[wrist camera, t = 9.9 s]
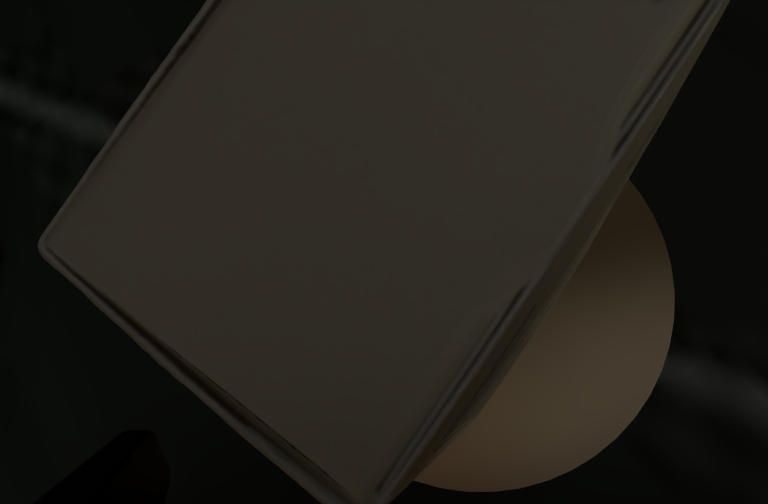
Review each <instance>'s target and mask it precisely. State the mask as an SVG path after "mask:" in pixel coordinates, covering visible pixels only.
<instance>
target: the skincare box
mask: <svg viewBox="0 0 768 504" xmlns="http://www.w3.org/2000/svg"><path fill="white" fill-rule="evenodd" d="M729 1H730V0H207V1H206V2H205V4H204V5H203V7H202V8H201V9H200V11H199V12H198V14H197V15H196V17H195V18H194V19H193V21H192V22H191V24H190V25H189V26H188V28H187V29H186V30H185V32H184V33H183V35H182V36H181V37H180V39H179V40H178V42H177V43H176V44H175V46H174V47H173V48H172V50H171V51H170V53H169V54H168V55H167V57H166V58H165V60H164V61H163V62H162V63H161V65H160V66H159V68H158V69H157V71H156V72H155V73H154V74H153V76H152V77H151V79H150V80H149V82H148V84H147V85H146V87H145V88H144V90H143V91H142V92H141V93H140V95H139V96H138V97H137V99H136V100H135V101H134V103H133V104H132V105H131V107H130V108H129V110H128V111H127V112H126V114H125V115H124V117H123V118H122V120H121V121H120V123H119V124H118V126H117V127H116V129H115V130H114V132H113V133H112V135H111V136H110V138H109V139H108V141H107V142H106V144H105V145H104V147H103V148H102V150H101V151H100V152H99V153H98V155H97V156H96V157H95V159H94V160H93V161H92V163H91V164H90V166H89V167H88V169H87V171H86V172H85V174H84V175H83V177H82V178H81V180H80V181H79V183H78V184H77V186H76V187H75V189H74V190H73V192H72V193H71V194H70V196H69V197H68V199H67V200H66V201H65V203H64V204H63V206H62V207H61V209H60V210H59V211H58V213H57V214H56V216H55V217H54V218H53V220H52V221H51V223H50V224H49V225H48V227H47V228H46V230H45V231H44V232H43V234H42V235H41V237H40V240H39V242H38V249H39V252H40V254H41V255H42V256H43V258H44V259H45V260H46V261H47V262H48V263H49V264H51V265H52V266H53V267H54V268H55V269H56V270H58V271H59V272H60V273H61V274H62V275H64V276H65V277H66V278H67V279H68V280H69V281H71V282H72V283H73V284H74V285H75V286H77V287H78V288H79V289H80V290H81V291H82V292H83V293H84V294H85V295H86V296H87V297H88V298H89V299H90V300H91V301H92V302H93V303H94V304H95V305H96V306H97V307H98V308H99V309H100V310H101V311H103V312H104V313H105V314H106V315H107V316H108V317H109V318H110V319H111V320H112V321H114V322H115V323H116V324H117V325H118V326H119V327H120V328H121V329H123V330H124V331H125V332H126V333H127V334H128V335H129V336H130V337H131V338H132V339H133V340H134V341H135V342H136V343H137V344H138V345H139V346H140V347H142V348H143V349H144V350H145V351H146V352H148V353H149V354H150V355H151V356H152V357H153V358H154V359H155V360H156V361H157V362H158V363H159V364H160V365H161V366H163V367H164V368H165V369H166V370H168V371H169V372H170V373H171V374H172V375H173V376H174V377H175V378H176V379H177V380H179V381H180V382H181V383H183V384H184V385H185V386H187V387H188V388H189V389H190V390H191V391H192V392H193V393H194V394H195V395H196V396H197V397H199V398H200V399H201V400H202V401H203V402H204V403H205V404H207V405H208V406H209V407H210V408H211V409H213V410H214V411H215V412H216V413H217V414H218V415H219V416H220V417H221V418H222V419H223V420H224V421H225V422H226V423H227V424H229V425H230V426H231V427H232V428H233V429H234V430H235V431H237V432H238V433H239V434H240V435H241V436H242V437H243V438H245V439H246V440H247V441H248V442H249V443H251V444H252V445H253V446H254V447H255V448H257V449H258V450H259V451H260V452H261V453H263V454H264V455H265V456H266V457H267V458H269V459H270V460H271V461H272V462H273V463H275V464H276V465H277V466H278V467H279V468H281V469H282V470H283V471H284V472H285V473H286V474H288V475H289V476H290V477H291V478H292V479H294V480H295V481H296V482H297V483H298V484H299V485H301V486H302V487H303V488H304V489H305V490H306V491H308V492H309V493H310V494H311V495H312V496H313V497H315V498H316V499H317V500H318V501H319V502H320V503H322V504H389V503H390V502H391V501H392V500H393V499H394V498H396V497H397V496H398V495H399V494H400V493H401V492H402V491H403V490H404V489H405V488H406V487H407V486H408V485H409V484H410V483H411V482H412V481H413V480H414V479H415V478H416V477H417V476H418V475H419V474H420V473H421V472H422V471H423V470H424V469H425V468H426V467H428V466H429V465H430V464H431V463H432V462H433V461H434V460H435V459H436V458H437V457H438V456H439V455H440V454H441V453H442V452H443V451H444V450H445V449H446V448H447V447H448V446H449V445H450V444H451V443H452V442H453V441H454V440H455V439H456V438H457V437H458V436H459V435H460V434H461V433H463V432H464V431H465V430H466V429H467V428H468V427H469V426H470V425H471V424H472V423H473V421H474V420H475V419H476V417H477V416H478V414H479V413H480V412H481V410H482V409H483V407H484V406H485V405H486V403H487V402H488V400H489V399H490V398H491V396H492V395H493V394H494V392H495V391H496V389H497V388H498V386H499V385H500V384H501V382H502V381H503V379H504V378H505V377H506V375H507V374H508V372H509V371H510V369H511V368H512V366H513V365H514V363H515V362H516V360H517V359H518V358H519V356H520V355H521V353H522V352H523V350H524V349H525V347H526V346H527V344H528V343H529V341H530V340H531V338H532V337H533V335H534V334H535V332H536V331H537V329H538V328H539V326H540V325H541V323H542V322H543V320H544V319H545V317H546V316H547V314H548V313H549V311H550V309H551V308H552V306H553V305H554V303H555V302H556V300H557V299H558V297H559V296H560V294H561V292H562V291H563V289H564V288H565V286H566V285H567V283H568V282H569V280H570V278H571V277H572V275H573V273H574V272H575V270H576V269H577V267H578V265H579V264H580V262H581V260H582V259H583V257H584V255H585V254H586V252H587V250H588V249H589V247H590V246H591V244H592V242H593V240H594V238H595V236H596V235H597V233H598V231H599V229H600V228H601V226H602V224H603V222H604V220H605V218H606V217H607V215H608V213H609V211H610V210H611V208H612V206H613V204H614V203H615V201H616V199H617V197H618V196H619V194H620V193H621V191H622V189H623V187H624V185H625V184H626V182H627V180H628V178H629V177H630V175H631V173H632V171H633V170H634V168H635V166H636V165H637V163H638V161H639V159H640V158H641V156H642V154H643V153H644V151H645V149H646V147H647V146H648V144H649V142H650V141H651V139H652V137H653V136H654V134H655V132H656V130H657V129H658V127H659V125H660V124H661V122H662V120H663V118H664V117H665V115H666V113H667V111H668V109H669V108H670V106H671V104H672V102H673V101H674V99H675V97H676V95H677V93H678V92H679V90H680V88H681V86H682V85H683V83H684V81H685V79H686V78H687V76H688V74H689V72H690V71H691V69H692V67H693V65H694V64H695V62H696V60H697V58H698V57H699V55H700V53H701V51H702V50H703V48H704V46H705V44H706V43H707V41H708V39H709V37H710V35H711V34H712V32H713V30H714V28H715V26H716V25H717V23H718V21H719V19H720V17H721V16H722V14H723V12H724V10H725V9H726V7H727V5H728V3H729Z"/></svg>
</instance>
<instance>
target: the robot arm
mask: <svg viewBox="0 0 768 504" xmlns="http://www.w3.org/2000/svg"><path fill="white" fill-rule="evenodd" d="M169 482H170V468H169V464H168V462H167V460H166V457H165V455H164V453H163V451H162V449H161V446H160V444H159V442H158V440H157V438H156V436H155V434H154V433H153V432H151V431H150V430H128V431H124V432H122V433H121V434H119V435H118V436H117V437H115V438H114V439H113V440H112V441H110V442H109V443H108V444H107V445H105V446H104V447H103V448H102V449H101V450H99V451H98V452H97V453H96V454H94V455H93V456H92V457H91V458H89V459H88V460H87V461H86V462H84V463H83V464H82V465H81V466H79V467H78V468H77V469H76V470H74V471H73V472H72V473H71V474H69V475H68V476H67V477H66V478H64V479H63V480H62V481H61V482H59V483H58V484H57V485H56V486H54V487H53V488H52V489H51V490H50V491H48V492H47V493H46V494H45V495H43V496H42V497H41V498H40V499H38V500H37V501H36V502H35V503H33V504H164V502H165V498H166V494H167V490H168V487H169Z"/></svg>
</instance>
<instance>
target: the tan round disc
mask: <svg viewBox="0 0 768 504" xmlns="http://www.w3.org/2000/svg"><path fill="white" fill-rule="evenodd" d="M673 322H674V285H673V277H672V268H671V264H670V260H669V256H668V252H667V249H666V245H665V241H664V239H663V237H662V234H661V232H660V229H659V227H658V225H657V222H656V220H655V218H654V216H653V214H652V212H651V211H650V209H649V207H648V206H647V204H646V202H645V201H644V199H643V197H642V196H641V194H640V193H639V192H638V190H637V189H636V188H635V187H634V185H633V184H632V183H631V182H630V180H629V179H628V180H627V182H626V184H625V185H624V187H623V189H622V191H621V193H620V194H619V196H618V197H617V199H616V201H615V203H614V204H613V206H612V208H611V210H610V211H609V213H608V215H607V217H606V218H605V220H604V222H603V224H602V226H601V228H600V229H599V231H598V233H597V235H596V236H595V238H594V240H593V242H592V244H591V246H590V247H589V249H588V250H587V252H586V254H585V255H584V257H583V259H582V260H581V262H580V264H579V265H578V267H577V269H576V270H575V272H574V273H573V275H572V277H571V278H570V280H569V282H568V283H567V285H566V286H565V288H564V289H563V291H562V292H561V294H560V296H559V297H558V299H557V300H556V302H555V303H554V305H553V306H552V308H551V309H550V311H549V313H548V314H547V316H546V317H545V319H544V320H543V322H542V323H541V325H540V326H539V328H538V329H537V331H536V332H535V334H534V335H533V337H532V338H531V340H530V341H529V343H528V344H527V346H526V347H525V349H524V350H523V352H522V353H521V355H520V356H519V358H518V359H517V360H516V362H515V363H514V365H513V366H512V368H511V369H510V371H509V372H508V374H507V375H506V377H505V378H504V379H503V381H502V382H501V384H500V385H499V386H498V388H497V389H496V391H495V392H494V394H493V395H492V396H491V398H490V399H489V400H488V402H487V403H486V405H485V406H484V407H483V409H482V410H481V412H480V413H479V414H478V416H477V417H476V419H475V420H474V421H473V423H472V424H471V425H470V426H469V427H468V428H467V429H466V430H465V431H464V432H463V433H461V434H460V435H459V436H458V437H457V438H456V439H455V440H454V441H453V442H452V443H451V444H450V445H449V446H448V447H447V448H446V449H445V450H444V451H443V452H442V453H441V454H440V455H439V456H438V457H437V458H436V459H435V460H434V461H433V462H432V463H431V464H430V465H429V466H428V467H426V468H425V469H424V470H423V471H422V472H421V473H420V474H419V475H418V476H417V477H416V478H415V479H414V481H418V482H421V483H425V484H428V485H432V486H435V487H439V488H445V489H452V490H459V491H466V492H495V491H503V490H510V489H518V488H523V487H527V486H530V485H534V484H537V483H541V482H544V481H548V480H550V479H552V478H555V477H557V476H559V475H561V474H564V473H566V472H568V471H571V470H573V469H574V468H576V467H578V466H579V465H581V464H582V463H584V462H586V461H587V460H589V459H591V458H592V457H594V456H595V455H597V454H598V453H599V452H600V451H601V450H603V449H604V448H605V447H606V446H607V445H609V444H610V443H611V442H612V441H613V440H615V439H616V438H617V437H618V436H619V435H620V434H621V432H622V431H623V430H624V429H625V428H626V427H627V426H628V425H629V424H630V422H631V421H632V420H633V419H634V418H635V417H636V415H637V414H638V412H639V411H640V409H641V408H642V406H643V405H644V403H645V402H646V400H647V399H648V397H649V396H650V394H651V392H652V390H653V388H654V386H655V384H656V381H657V379H658V377H659V375H660V373H661V371H662V368H663V365H664V362H665V358H666V355H667V352H668V349H669V346H670V340H671V334H672V328H673Z"/></svg>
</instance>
